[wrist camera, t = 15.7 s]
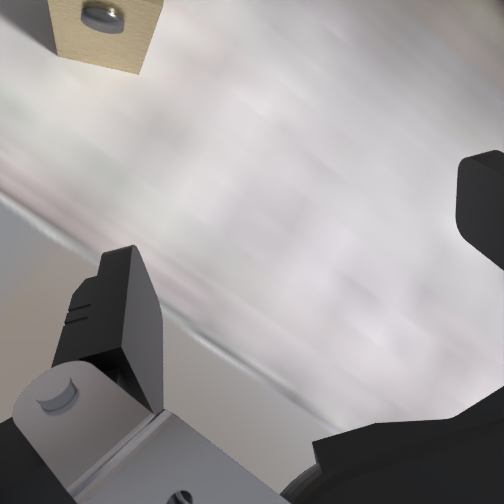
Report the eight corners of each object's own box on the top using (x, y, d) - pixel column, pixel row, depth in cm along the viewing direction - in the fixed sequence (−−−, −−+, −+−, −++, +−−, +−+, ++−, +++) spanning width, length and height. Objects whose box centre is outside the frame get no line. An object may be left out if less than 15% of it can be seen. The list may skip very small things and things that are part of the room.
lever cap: (144, 19, 26) (171, -76, 18) (138, 79, 26) (162, 13, 18) (63, -3, 24) (50, -119, 16) (57, 61, 25) (41, -21, 16)
